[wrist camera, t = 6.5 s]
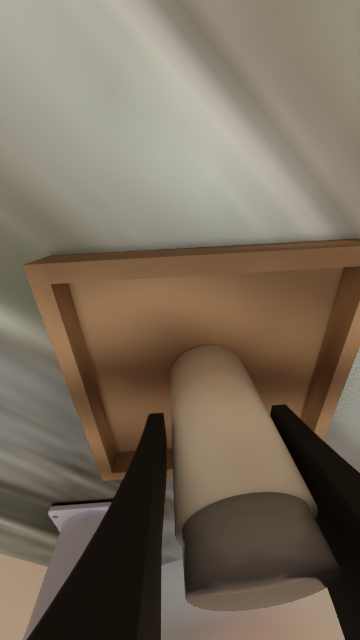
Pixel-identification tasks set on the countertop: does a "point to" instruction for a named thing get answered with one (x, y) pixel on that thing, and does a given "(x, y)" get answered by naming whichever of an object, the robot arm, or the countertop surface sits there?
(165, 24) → the countertop surface
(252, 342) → the tray
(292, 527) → the pepper shaker
